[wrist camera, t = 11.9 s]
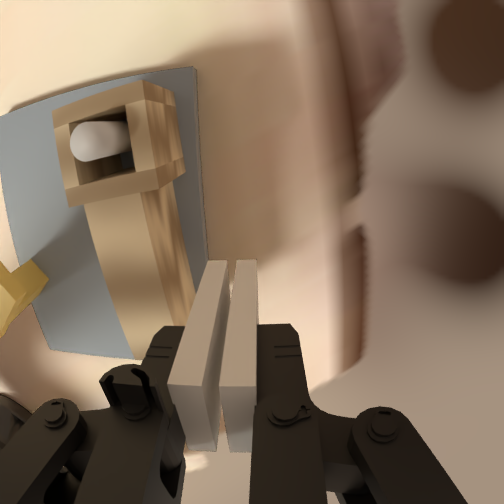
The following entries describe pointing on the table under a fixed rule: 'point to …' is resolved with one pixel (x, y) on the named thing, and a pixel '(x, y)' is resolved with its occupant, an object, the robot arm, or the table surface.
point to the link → (133, 207)
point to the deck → (82, 216)
